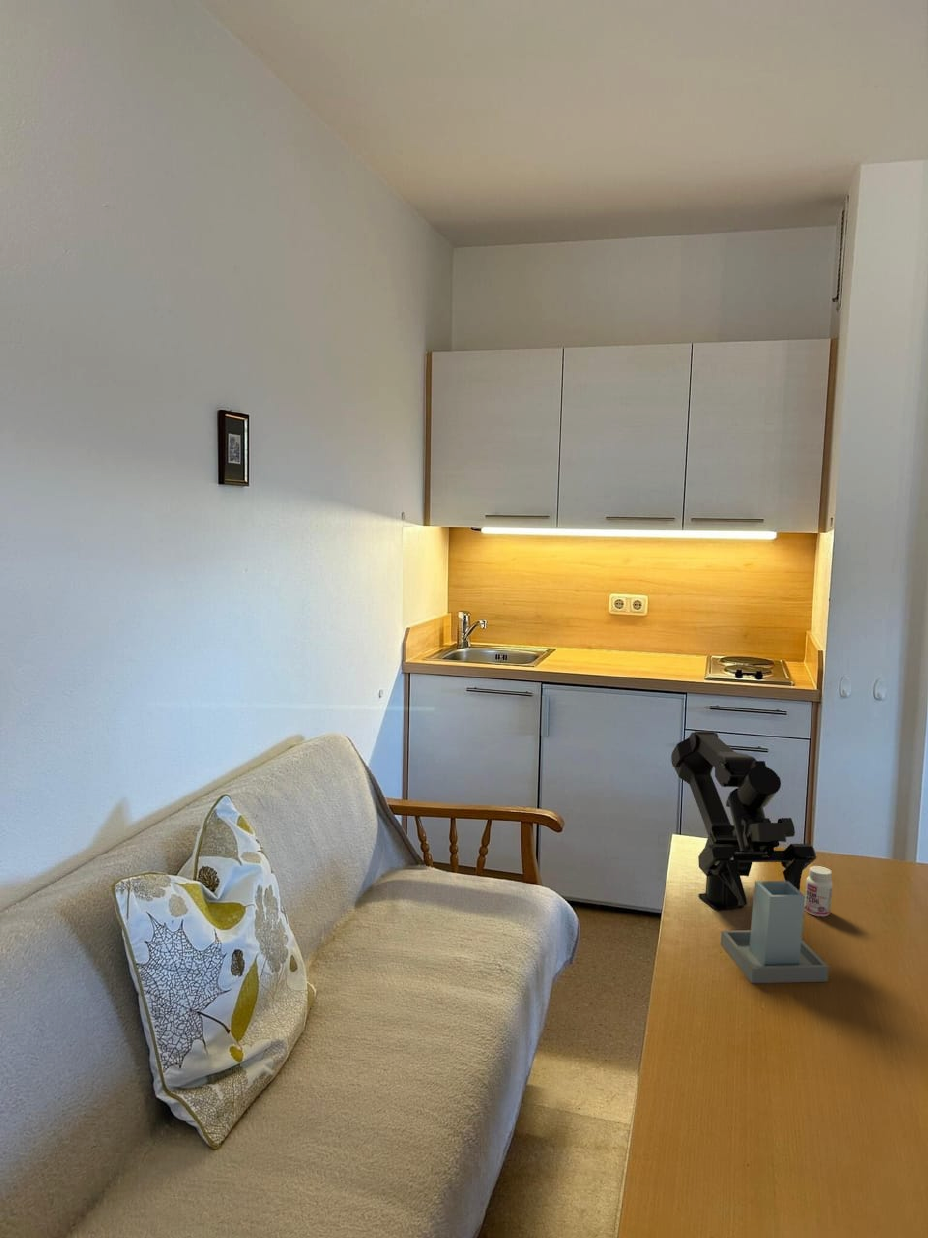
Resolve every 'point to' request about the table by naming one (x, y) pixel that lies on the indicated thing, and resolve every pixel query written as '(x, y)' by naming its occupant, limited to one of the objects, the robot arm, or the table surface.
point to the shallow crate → (807, 970)
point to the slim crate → (777, 923)
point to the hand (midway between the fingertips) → (770, 905)
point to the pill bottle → (818, 891)
